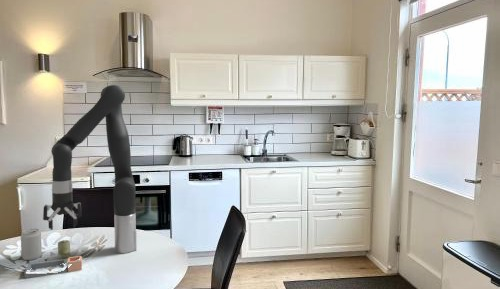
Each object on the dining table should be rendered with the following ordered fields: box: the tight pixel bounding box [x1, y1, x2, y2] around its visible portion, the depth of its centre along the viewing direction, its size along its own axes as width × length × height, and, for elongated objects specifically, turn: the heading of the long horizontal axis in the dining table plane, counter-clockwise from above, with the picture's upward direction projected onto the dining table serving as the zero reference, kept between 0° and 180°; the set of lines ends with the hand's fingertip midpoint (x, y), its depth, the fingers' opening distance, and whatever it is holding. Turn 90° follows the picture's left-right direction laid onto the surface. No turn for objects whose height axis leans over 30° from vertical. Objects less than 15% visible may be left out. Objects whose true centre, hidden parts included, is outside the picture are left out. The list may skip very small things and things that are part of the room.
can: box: [20, 228, 43, 261], centre depth 153 cm, size 8×8×12 cm
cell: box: [57, 239, 71, 260], centre depth 151 cm, size 4×4×9 cm
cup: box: [67, 255, 83, 273], centre depth 144 cm, size 5×5×4 cm
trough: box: [24, 259, 68, 279], centre depth 142 cm, size 14×9×2 cm, turn 114°
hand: (63, 228), depth 150 cm, fingers open, 8 cm apart
